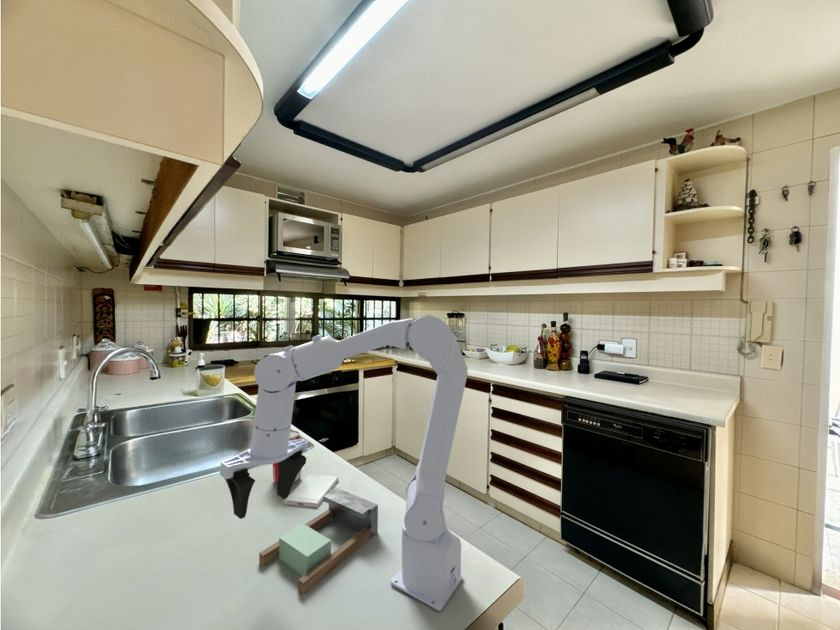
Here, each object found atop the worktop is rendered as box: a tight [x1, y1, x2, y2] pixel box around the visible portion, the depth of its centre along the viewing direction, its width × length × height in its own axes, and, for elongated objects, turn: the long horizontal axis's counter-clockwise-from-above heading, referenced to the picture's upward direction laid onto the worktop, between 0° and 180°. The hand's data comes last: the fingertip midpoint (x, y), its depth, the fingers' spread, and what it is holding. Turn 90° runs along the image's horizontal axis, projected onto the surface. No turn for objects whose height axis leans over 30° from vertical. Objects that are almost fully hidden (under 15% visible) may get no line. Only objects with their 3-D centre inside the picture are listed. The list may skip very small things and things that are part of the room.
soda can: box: [272, 429, 302, 484], centre depth 89 cm, size 7×7×12 cm
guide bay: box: [258, 486, 379, 595], centre depth 64 cm, size 12×18×6 cm, turn 147°
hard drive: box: [283, 474, 339, 508], centre depth 84 cm, size 2×8×12 cm
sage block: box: [278, 523, 332, 577], centre depth 61 cm, size 8×5×4 cm, turn 55°
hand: (262, 505), depth 57 cm, fingers open, 7 cm apart
